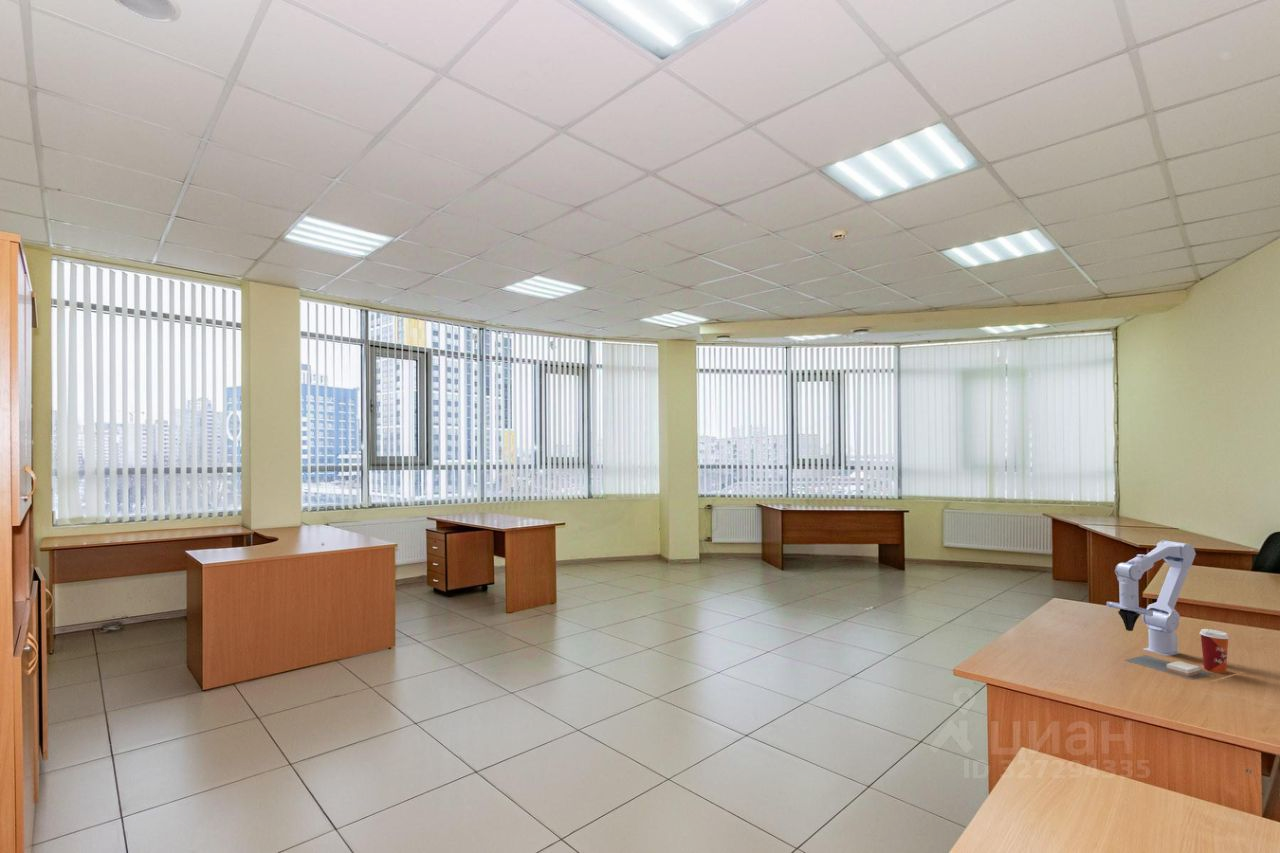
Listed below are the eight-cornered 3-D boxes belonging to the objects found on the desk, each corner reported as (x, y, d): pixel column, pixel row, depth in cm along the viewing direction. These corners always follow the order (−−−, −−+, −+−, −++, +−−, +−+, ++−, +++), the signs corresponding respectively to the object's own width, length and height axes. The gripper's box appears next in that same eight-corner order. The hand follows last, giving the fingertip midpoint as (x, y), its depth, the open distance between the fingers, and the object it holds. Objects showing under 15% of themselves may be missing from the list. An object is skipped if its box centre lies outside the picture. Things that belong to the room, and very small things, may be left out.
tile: (1178, 660, 213) (1199, 666, 208) (1178, 667, 213) (1200, 673, 208) (1166, 664, 210) (1187, 669, 205) (1166, 670, 210) (1187, 676, 205)
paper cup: (1224, 676, 206) (1223, 636, 207) (1196, 669, 213) (1195, 630, 213) (1234, 673, 210) (1233, 633, 210) (1205, 665, 217) (1205, 627, 217)
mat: (1145, 656, 226) (1145, 655, 226) (1212, 674, 208) (1212, 673, 208) (1124, 661, 221) (1124, 660, 221) (1191, 680, 202) (1191, 679, 202)
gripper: (1101, 591, 233) (1102, 626, 233) (1145, 600, 220) (1146, 637, 219) (1112, 589, 236) (1112, 624, 236) (1155, 598, 223) (1156, 634, 222)
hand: (1129, 630), depth 228 cm, fingers closed
